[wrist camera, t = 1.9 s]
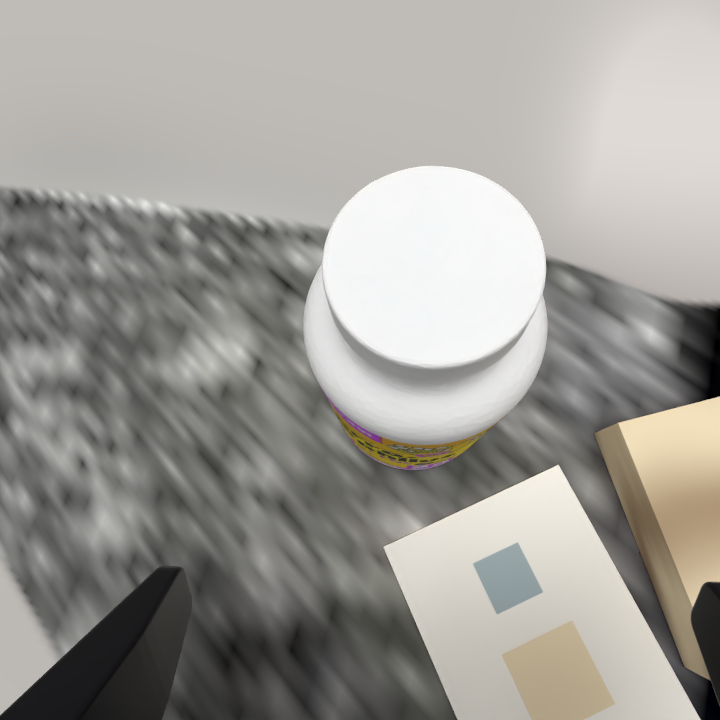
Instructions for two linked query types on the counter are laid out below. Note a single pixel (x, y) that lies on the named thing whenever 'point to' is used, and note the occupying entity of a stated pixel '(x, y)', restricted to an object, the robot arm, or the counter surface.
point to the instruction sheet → (533, 613)
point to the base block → (672, 506)
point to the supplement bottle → (427, 314)
